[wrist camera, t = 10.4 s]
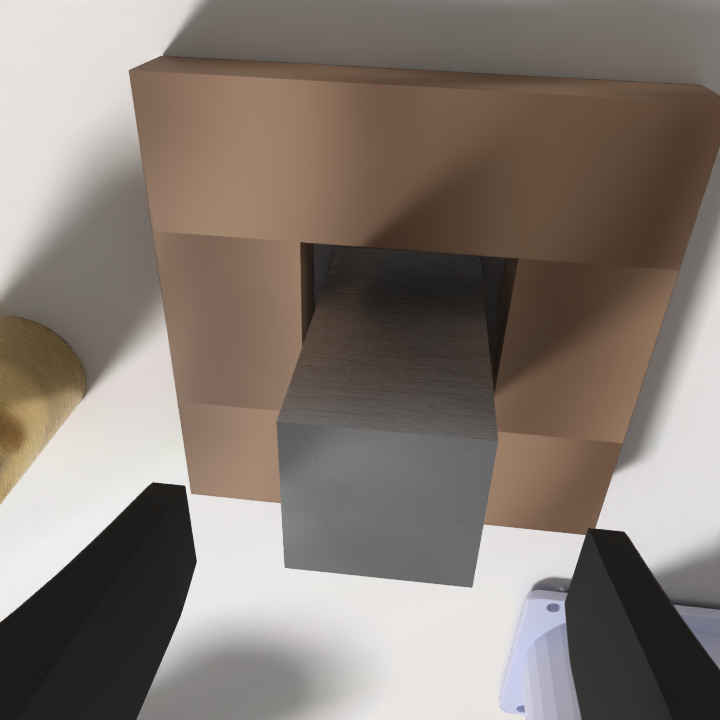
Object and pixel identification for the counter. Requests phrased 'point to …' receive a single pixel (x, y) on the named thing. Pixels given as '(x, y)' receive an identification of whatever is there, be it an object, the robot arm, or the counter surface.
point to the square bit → (390, 421)
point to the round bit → (33, 393)
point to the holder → (421, 245)
